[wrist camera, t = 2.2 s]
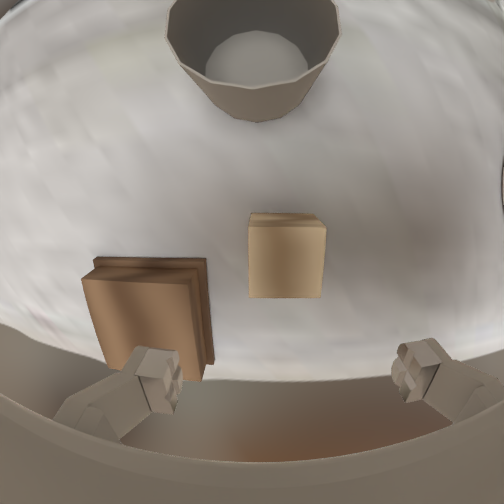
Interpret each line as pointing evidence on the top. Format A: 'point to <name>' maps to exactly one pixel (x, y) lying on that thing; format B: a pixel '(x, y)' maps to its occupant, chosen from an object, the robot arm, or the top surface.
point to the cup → (253, 50)
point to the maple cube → (285, 255)
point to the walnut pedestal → (151, 309)
